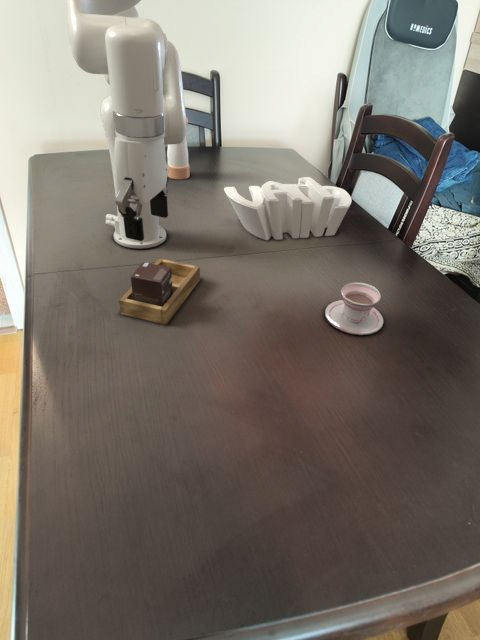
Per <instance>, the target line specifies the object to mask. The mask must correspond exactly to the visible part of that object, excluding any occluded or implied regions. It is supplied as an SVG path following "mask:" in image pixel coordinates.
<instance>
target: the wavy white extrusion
mask: <svg viewBox="0 0 480 640" xmlns="http://www.w3.org/2000/svg"><path fill="white" fill-rule="evenodd" d="M248 189H249V193H250V196H251V200H252V201H251V200H249V199H246V198H245V197H243V196H242V195H241V194H240V193H238V191H237V188H236V187H235V186H225V187H223V191H224V193H225V195H226V197H227V199H228V200H229V202H230V204H231V206H232V208H233V210H234V212H235V214H236V215H237V217H238V220H239V221H240V223H241V225H242V226H243V227H244V229H245V230H246V231H247V232H249V233H250V234H252V235H253V236H255V237H257V238H259V239H261V240H264V241H268V240H270V239H271V237H272V238H273V239H274V240H283V238H284V237H283V233H288V235H290V236H291V238H292V239H307V238H309V237H310V232H311V234H312V235H313V237H314V238H315V237H318V238H319V237H323V236H324V237H330V236H335V235H336V233H337V232H338V229H339V227H340V226H341V223H342V221H343V220H344V218H345V216H346V214H347V212H348V210H349V209H350V206H351V204H352V200H353V199H352V197H351V195H350V194H349V192H347V191H346V190H345V189H344V188H342V187H337V186H333V185H321V184H320V183H318V182H317V181H315V180H314V179H313V178H312V177H310V176H303V177H298V179H297V183H284V184H283V183H281V182H278V181H274V180H269V181H266V182H265V183H263V184H262V185H261V187H260V186H259V185H250V186H248ZM325 229H326V231H325ZM324 232H325V234H324Z"/></svg>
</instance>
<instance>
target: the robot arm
mask: <svg viewBox="0 0 480 640" xmlns="http://www.w3.org/2000/svg"><path fill="white" fill-rule="evenodd" d="M141 1H142V0H66V19H67V28H68V29H67V30H68V38H69V45H70V51H71V55H72V56H73V60H74V61H75V63H76V65H77V66H78V67H79V68H80V69H81V70H82V71H84V72H85V73H87V74H91V75H92V74H93V75H103V76H104V79H105V81H106V82H107V84H108V85H109V88H110V89H109V90H110V95H108V96H107V97H105V98H104V99H103V100H102V103H101V104H100V119H101V123H102V127H103V131H104V134H105V138H106V142H107V147H108V151H109V157H110V158H109V159H110V164H111V171H112V172H111V173H112V178H113V186H114V193H115V194H114V196H115V198H114V202H115V205H116V213H117V215H115V214H111V213H107V214H106V215H105V222H104V224H105V226H108V227H113V228H114V229H115V230H114V231H113V239H114V241H115V242H116V243H117V244H118V245H119V246H122V247H125V248H129V249H137V250H139V249H150V248H155V247H157V246H159V245H161V244H163V243H165V241H166V240H167V231H166V230H165V229H164V227H162V226H161V225H160V218H164V219H166V218H168V217H169V206H168V194H169V189H168V183H169V177H168V171H169V165H168V164H167V152H166V146H165V145H167V146H168V144H179V143H181V142H182V141H183V140H184V139H185V136H186V137H187V129H188V128H187V127H188V125H187V126H186V117H187V115H186V114H187V113H186V103H185V95H184V85H183V77H182V67H181V66H182V65H181V61H180V60H181V59H180V56H179V53H178V51H177V49H176V47H175V45H174V44H173V43H172V42H171V41H169V40H168V37H167V34H166V33H165V32H164V31H163V29H162V27H161V25H160V24H159V23H158V22H156V21H155V20H152V19H150V18H144V17H139V12H138V10H137V8H136V6H137V5H138V4H139V3H140V2H141Z"/></svg>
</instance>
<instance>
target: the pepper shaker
mask: <svg viewBox="0 0 480 640" xmlns="http://www.w3.org/2000/svg"><path fill="white" fill-rule="evenodd" d="M188 124H189V118H188V117H187V116H186V126H187V127H188ZM166 149H167V150H166V160H167V162H166V164H168V165H169V171H168V176H167V177H168V178H170V179H173V180H185V179H189V178H190V177H191V176H190V171H191V170H190V169H191V168H190V163H189V149H188V143H187V135H186V136H185V139H184V140H183V141H182V142H181V143H179V144H168V145H167V148H166Z"/></svg>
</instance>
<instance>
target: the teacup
mask: <svg viewBox="0 0 480 640" xmlns="http://www.w3.org/2000/svg"><path fill="white" fill-rule="evenodd" d="M340 293H341V298H342V299H339V300H336V301H333V302H331V303H329V304H328V305H327V306H326V308H325V310H324V314H325V315H324V316H325V318H326V320H327V322H328V323H329V324H330V325H331V326H333V327H334V328H336V329H338V331H341V332H344V333H347V334H351V335H358V336H364V335H365V336H367V335H372V334H375V333H378V331H380V330H381V329H382V327H383V324H384V317H383V315H382V314H381V312H380V311H379V310H378V309H376V308H375V306H377V305H378V304H379V303H380V301H381V297H382V295H381V292H380V291H379V290H378V288H377V287H375V286H373V285H371V284H369V283H365V282H359V281H358V282H356V281H355V282H349V283H346V284H345V285H343V287H342V288H341V290H340Z"/></svg>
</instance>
